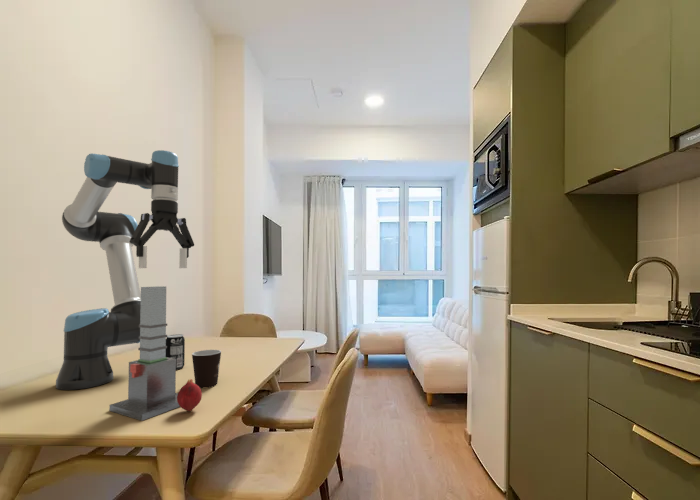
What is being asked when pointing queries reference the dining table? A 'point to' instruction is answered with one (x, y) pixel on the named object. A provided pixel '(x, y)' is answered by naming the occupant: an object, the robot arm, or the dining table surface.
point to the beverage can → (176, 349)
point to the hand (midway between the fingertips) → (163, 268)
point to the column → (153, 325)
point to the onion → (189, 396)
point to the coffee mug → (206, 367)
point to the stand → (149, 390)
